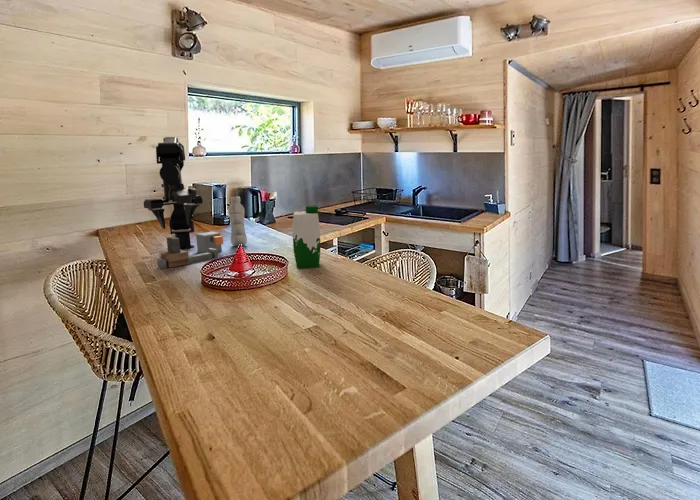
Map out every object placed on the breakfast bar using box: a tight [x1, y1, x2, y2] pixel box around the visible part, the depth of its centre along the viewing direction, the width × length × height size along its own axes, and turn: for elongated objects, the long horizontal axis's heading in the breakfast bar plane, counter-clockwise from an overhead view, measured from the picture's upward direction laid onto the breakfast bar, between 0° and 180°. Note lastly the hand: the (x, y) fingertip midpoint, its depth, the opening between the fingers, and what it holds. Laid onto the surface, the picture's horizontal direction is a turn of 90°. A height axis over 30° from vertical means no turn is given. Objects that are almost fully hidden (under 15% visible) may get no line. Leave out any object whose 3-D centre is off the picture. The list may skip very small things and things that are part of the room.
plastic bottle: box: [227, 196, 248, 247], centre depth 190 cm, size 6×7×20 cm
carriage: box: [159, 236, 190, 269], centre depth 161 cm, size 6×7×9 cm
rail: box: [156, 248, 219, 270], centre depth 165 cm, size 4×21×3 cm, turn 138°
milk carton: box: [292, 205, 321, 269], centre depth 155 cm, size 9×9×20 cm
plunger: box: [210, 235, 224, 246], centre depth 180 cm, size 7×3×3 cm, turn 48°
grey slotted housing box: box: [195, 231, 223, 254], centre depth 183 cm, size 6×7×7 cm
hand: (176, 226), depth 160 cm, fingers open, 9 cm apart
